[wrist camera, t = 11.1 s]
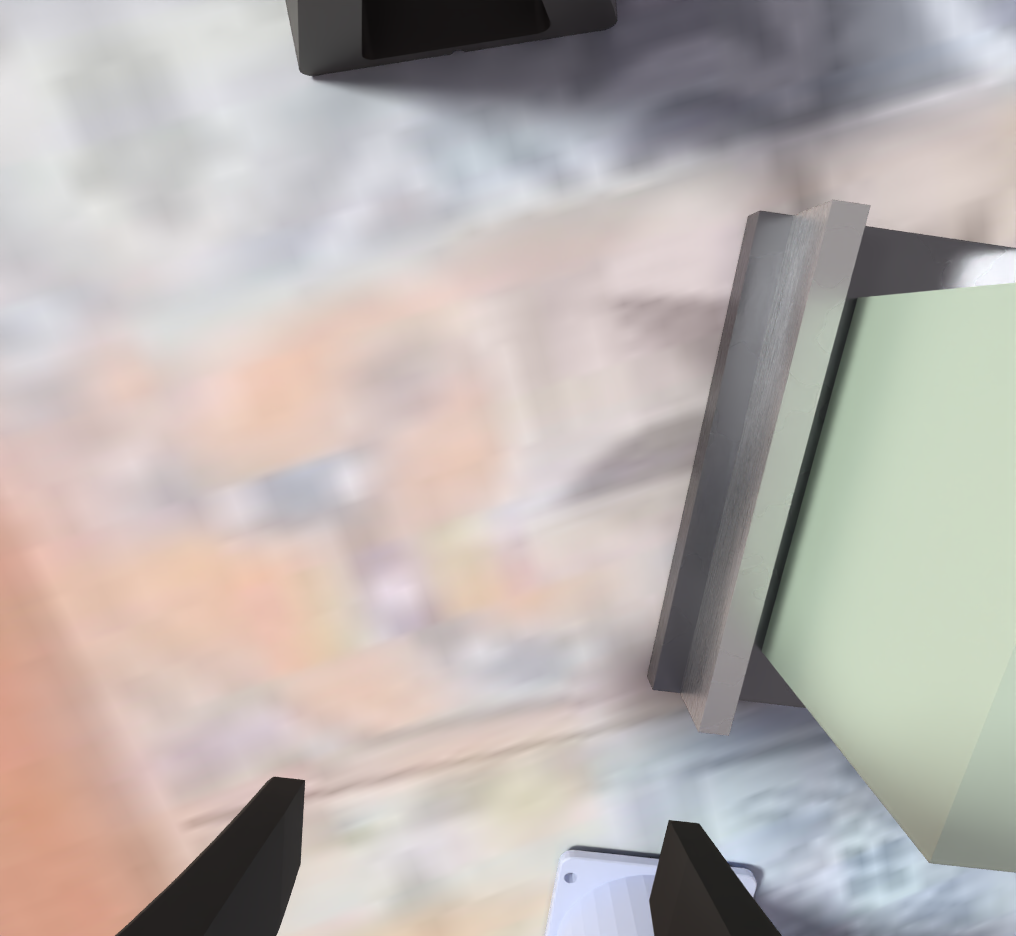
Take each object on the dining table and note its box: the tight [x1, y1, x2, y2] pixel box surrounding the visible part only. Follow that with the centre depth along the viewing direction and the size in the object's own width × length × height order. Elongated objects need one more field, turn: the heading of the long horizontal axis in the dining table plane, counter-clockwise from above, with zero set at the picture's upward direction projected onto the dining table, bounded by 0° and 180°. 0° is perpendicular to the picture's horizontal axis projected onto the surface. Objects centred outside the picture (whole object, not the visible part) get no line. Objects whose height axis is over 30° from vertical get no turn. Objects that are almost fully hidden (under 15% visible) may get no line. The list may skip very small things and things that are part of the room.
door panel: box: [762, 283, 1016, 873], centre depth 14 cm, size 12×3×8 cm, turn 172°
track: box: [647, 200, 1016, 736], centre depth 18 cm, size 10×16×3 cm, turn 172°
